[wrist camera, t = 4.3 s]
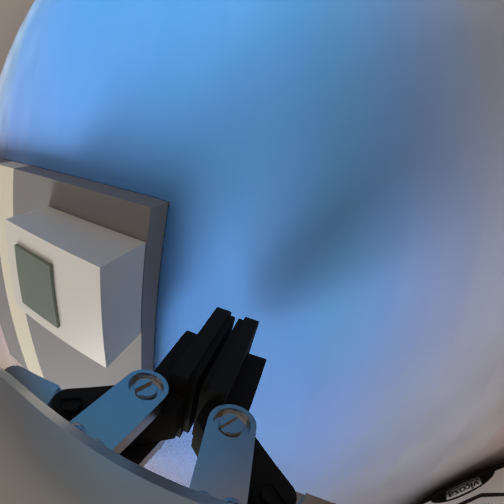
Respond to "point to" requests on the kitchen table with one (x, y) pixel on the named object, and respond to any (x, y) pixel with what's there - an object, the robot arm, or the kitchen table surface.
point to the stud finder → (77, 280)
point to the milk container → (473, 489)
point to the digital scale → (103, 214)
